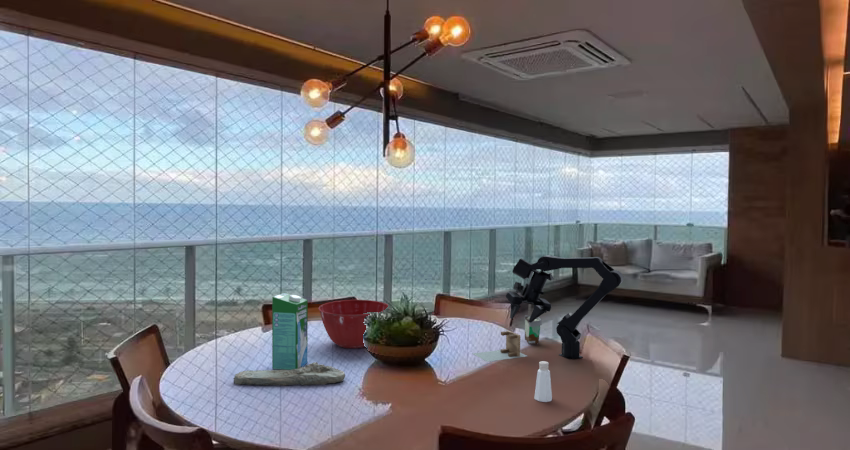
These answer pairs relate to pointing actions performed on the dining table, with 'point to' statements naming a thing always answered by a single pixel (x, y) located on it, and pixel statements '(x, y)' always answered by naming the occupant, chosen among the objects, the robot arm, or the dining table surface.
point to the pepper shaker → (543, 383)
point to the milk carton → (289, 331)
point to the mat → (495, 355)
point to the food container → (532, 330)
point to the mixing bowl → (348, 320)
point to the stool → (511, 343)
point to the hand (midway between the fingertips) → (520, 320)
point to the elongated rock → (292, 376)
